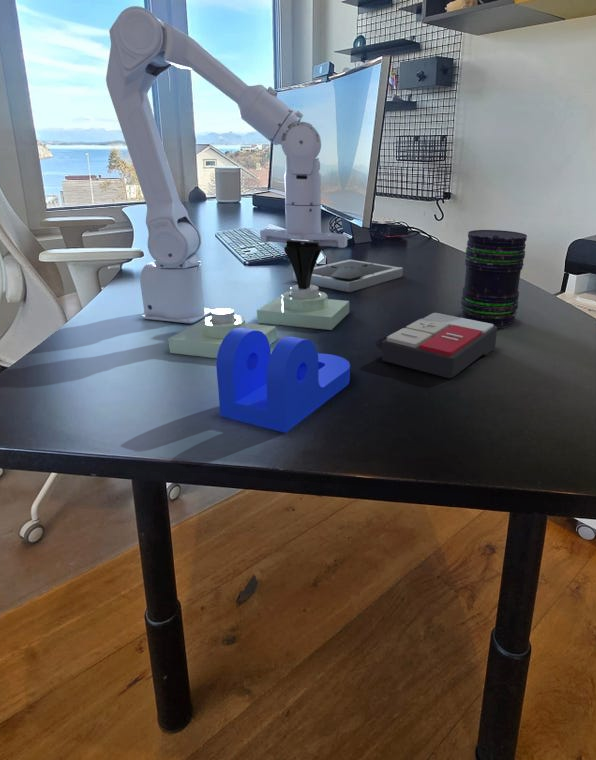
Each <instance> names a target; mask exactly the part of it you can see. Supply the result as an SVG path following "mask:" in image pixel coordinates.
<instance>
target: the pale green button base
mask: <svg viewBox="0 0 596 760" xmlns="http://www.w3.org/2000/svg"><path fill="white" fill-rule="evenodd" d="M234 318H235V322H234V323H229V324H214V323H212V317H211V315H208V316H206V317H204V318H202V319H200V320H199V322H198V321H197V322H195V324H194V323H193V325H191V326H189V327H187V328H185V329H183V330H181V331H179V332H178V333H175V334H174V335H172V336H170V337H168V338H167V339H168V340H167V341H168V347H169V348H168V349H169V353H170V354H177V355H185V356H192V357H202V358H209V359H217V355H218V351H219V348H220V345H221V343H222V341H223V339H224V338H225V337H226V335H227V334H228V333H229V332H230V331H232V330H233V329H236V328H246V329H252V330H257V331H260V332H262V333H264V335H265V336H266V337H267V339H268V341H269V345H270V346H271V345H272V344H273V343H274V342H276V341H277V327H276V326H274V325H265V324H254V323H246V320H245V319H246V318H245V317H244V316H241V315H237V314H234Z"/></svg>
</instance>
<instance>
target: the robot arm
mask: <svg viewBox="0 0 596 760" xmlns="http://www.w3.org/2000/svg"><path fill="white" fill-rule="evenodd" d="M108 30H109V31H108V32H109V40H110V48H109V56H108V63H107V69H106V75H105V76H106V77H105V83H106V87H107V90H108V94H109V96H110V99H111V102H112V106H113V108H114V112H115V114H116V117H117V120H118V124H119V126H120V129H121V133H122V135H123V139H124V141H125V145H126V147H127V150H128V153H129V157H130V160H131V163H132V165H133V169H134V172H135V176H136V178H137V180H138V184H139V187H140V190H141V193H142V196H143V199H144V202H145V205H146V215H145V216H146V217H145V224H146V228H147V232H148V237H147V250H148V253H149V255H150V256H151V258H152V259H153V260H154V261H153V262H148V263H146V264H145V265H144V266H143V268H141V272H140V276H139V284H140V291H141V298H142V305H143V312H144V314H143V315H141V318H142V320H153V321H161V322H162V321H163V322H170V323H171V322H172V323H182V324H194V323H197V322H198V321H201V320H202V319H204V318H206V317H208V316H210V315H211V311H212V310H215V309H214V308H208V307H205V299H204V289H203V277H202V266H201V265H202V264H201V260H200V258H199V257H198V255H197V252H198V251H199V249H200V248H201V245H202V235H201V233H200V231H199V229H198V228H197V227H196V226H195V224H194V223H193V222H192V220H191V218H190V216H189V212H188V210H187V208H186V207H185V206H184V204H183V203H182V201H181V200H180V196H179V193H178V190H177V186H176V183H175V179H174V177H173V174H172V171H171V167H170V164H169V161H168V157H167V154H166V152H165V148H164V144H163V141H162V138H161V135H160V132H159V128H158V125H157V122H156V118H155V114H154V112H153V109H152V106H151V102H150V98H149V96H148V93H149V91H150V89H151V88H152V86H153V85H154V84H155V81H156V80H157V78H158V77H159V76H160V75H162V73H164V72H166V71H167V70H168V69H170V68H171V67H172V66H174V67H176V68H178V69H182V70H190V71H194V72H195V73H196V74H197V75H198V76H200V77H202V78H203V79H204V80H205V81H206V82H207V83H209V84H211V85H212V86H213V87H215V88H216V89H217V90H219V92H222V94H224V95H225V96H226V97H228V98H229V99H230V100H232V101H233V102H234V103H236V105H237V107H238V112H239V118H240V120H242V121H243V122H244V123H246V124H247V125H249V126H250V127H251V128H253V129H254V130H255V131H256V132H258V133H259V134H260V135H261V136H262V137H264V138H265V139H266V140H268V141H269V142H270V143H272V145H274V146H278V145H280V146H281V149H282V152H283V154H284V155H285V172H284V199H285V200H284V202H285V203H284V207H285V208H284V209H285V211H284V212H285V213H284V214H285V229H282V228H281V229H279V228H277V229H276V228H273V229H272V228H263V229H260V230H259V235H260V236H259V237H260V243H282V244H286V245H285V246H284V248H283V250H284V253H285V255H286V257H287V259H288V260H289V262H290V264H291V267H292V269H293V272H295V275H296V279H297V282H296V283H297V285H298V288H300V289H307V288H309V287H310V282H311V277H312V273H313V270H314V267H316V264H317V261H318V259H319V257H320V254H321V253H322V250H323V247H336V248H340V249H344V248H346V247H347V246H348V234H347V233H337V232H328V231H323V230H322V181H321V180H322V175H321V174H320V170H321V161H320V158H319V157H318V156H319V155H320V152H321V148H322V140H321V136H320V133H319V132H318V130H317V129H316V128H315V127H314V126H313V124H311V123H310V122H307V121H301V120H302V119H303V117H304V114H303V113H302V112H300V111H299V110H296V111H295V110H293V109H292V108H291V107H289V106H288V105H287V104H286V103H285V102H284V101H282V100H281V99H280V98H279V97H278V96H277V95H278V92H277V91H276V89H274V88H273V87H272V86H268V88H267V87H266V86H264V85H263V84H256V85H248V84H247V83H246V82H245V81H243V80H242V79H241V78H240V77H239V76H237V75H236V74H235V73H234V72H233V71H232V70H231V69H229V68H228V67H227V66H226V65H225V64H223V63H222V62H221V61H220V60H219V59H217V58H216V57H215V56H214V55H213V54H212V53H211V52H210V51H208V50H207V49H206V48H205V47H204V46H202V45H201V44H200V43H199V42H198V41H196V40H195V38H192V37H191V36H190V35H188V34H186V33H185V32H183V31H181V30H180V29H179V28H176V26H174V25H172V24H170V23H168V22H167V21H165V20H163V19H162V20H160V19H159V18H158V17H157V16H156V15H155V14H154V13H153V12H152V11H150V10H149V9H147V8H146V7H143V6H138V5H133V6H128V7H126V8H124V9H123V10H122V11H121V12H120V13H119V14H118V16H117V17H116V19H115V21H114V22H113V23H112V25H111V27H110V29H108Z"/></svg>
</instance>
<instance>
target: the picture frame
mask: <svg viewBox="0 0 596 760" xmlns="http://www.w3.org/2000/svg"><path fill="white" fill-rule="evenodd" d="M403 268H404V267H401V266H400V267H399V266H393V265H387V264H380V263H373V262H367V261H362V260H355V259H346V260H341V261H335V262H331V263H327V264H323V265H317V266H314V270H313V273H312V277H311V282H310V285H315V286H318V287H321V288H326V289H330V290H335V291H341V292H345V293H352V292H355V291H359V290H362V289H365V288H369V287H372V286H376V285H379V284H383V283H386V282H389V281H393V280H396V279H401V278H403V273H404V269H403ZM292 281H293V282H296V283H297V279H296V275H295V272H294V271H292Z"/></svg>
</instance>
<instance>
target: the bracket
mask: <svg viewBox="0 0 596 760" xmlns="http://www.w3.org/2000/svg"><path fill="white" fill-rule="evenodd" d="M215 363H216V366H215V367H216V379H217V380H216V381H217V389H218V403H219V413H220V417H221V418H225V419H229V420H233V421H236V422H240V423H241V422H242V423H245V424H248V425H253V426H256V427H260V428H264V429H268V430H272V431H276V432H279V433H284V434H287V433H288V432H289V431H290V430H292V429H293V428H294V427H296V426H298V424H300V423H301V422H302V421H304V420H305V419H307V417H309V416H310V415H311V414H313V413H314V412H315V411H316V410H318V409H319V408H320V407H321V406H323V405H324V404H325V403H327V402H328V401H329V400H330V399H331V398H333V397H334V396H335V395H337V394H338V393H340V392H342V390H343V389H344V388H346V387H347V386H348V385H349V384H350V380H351V363H350V362H349V360H347V359H346V358H344V357H342V356H339V355H335V354H330V353H321V352H320V353H318V349H317V347H316V345H315V344H314V342H313V341H312V340H310V339H308V338H307V339H306V338H301V337H296V336H295V337H294V336H284V337H282V338H281V339H280V340H279V341H278V342H277V343H276V345H275V346H274V347H273V349H272V351H271V345H269V341H268V339H267V337H266V336H265V335H264V333H262V332H260V331H257V330H252V329H246V328H236V329H233V330H232V331H230V332H229V333H228V334H227V335H226V337H225V338H224V339H223V341H222V343H221V345H220V348H219V351H218V355H217V358H216V362H215Z"/></svg>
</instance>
